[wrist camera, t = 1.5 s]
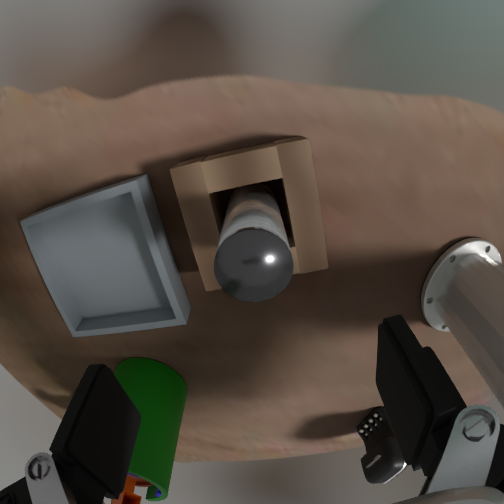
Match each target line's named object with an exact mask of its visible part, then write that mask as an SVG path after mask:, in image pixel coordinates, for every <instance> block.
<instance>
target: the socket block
mask: <svg viewBox="0 0 504 504" xmlns="http://www.w3.org/2000/svg"><path fill="white" fill-rule="evenodd" d="M169 170H170V173H171V177H172V181H173V184H174V188H175V191H176V195H177V198H178V202H179V205H180V209H181V212H182V216H183V219H184V223H185V226H186V229H187V233H188V236H189V239H190V242H191V246H192V249H193V252H194V255H195V259H196V262H197V265H198V268H199V271H200V274H201V277H202V281H203V284H204V287H205V290H206V292H207V291H213V290H219V289H222V288H221V286H220V285H219V284H218V282H217V280H216V277H215V274H214V259H215V255H216V251H217V247H218V243H219V239H220V235H221V231H222V228H223V224H224V219H223V215H222V211H221V207H220V203H219V199H218V196H217V191H222V190H226V189H231V188H235V187H240V186H245V185H249V184H254V183H259V182H264V181H269V180H274V179H279V178H280V179H281V184H282V189H283V195H284V200H285V205H286V210H287V216H288V221H289V226H290V230H287V231H285V232H286V236H287V240H288V243H289V247H290V251H291V254H292V258H293V264H294V268H293V274H298V273H300V274H303V273H308V272H313V271H318V270H323V269H328V260H327V252H326V244H325V237H324V229H323V222H322V215H321V209H320V202H319V196H318V189H317V183H316V177H315V171H314V165H313V160H312V154H311V148H310V143H309V139H308V138H305V137H303V136H296V137H291V138H285V139H280V140H274V141H273V142H270V143H265V144H260V145H255V146H250V147H246V148H241V149H236V150H232V151H228V152H223V153H219V154H215V155H211V156H207V155H206V156H202V157H198V158H194V159H190V160H186V161H182V162H180V163H178V164H177V165H175V166H174V167H172V168H171V169H169Z"/></svg>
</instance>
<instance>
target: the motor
mask: <svg viewBox="0 0 504 504" xmlns="http://www.w3.org/2000/svg"><path fill="white" fill-rule="evenodd" d="M114 375H115V377H116V378H117V380H118V381H119V383H120V385H121V386H122V388H123V389H124V391H125V392H126V393H127V395H128V396H129V398H130V399H131V401H132V402H133V404H134V405H135V406H136V408H137V409H138V411H139V412H140V414H141V424H140V427H139V431H138V435H137V438H136V442H135V446H134V450H133V454H132V458H131V462H130V466H129V470H128V474H127V478H126V482H125V486H124V490H123V492H122V493H120V495H119V500H117V499H111V504H140V502H141V496H138V495H136V494H133V493H134V488H135V486H138V487H148V490H147V495H146V500H148V501H160V500H164V499H165V498H167V496H168V490H169V484H170V479H171V473H172V467H173V462H174V457H175V451H176V446H177V441H178V436H179V431H180V426H181V420H182V415H183V410H184V406H185V401H186V396H187V386H186V384H185V382H184V380H183V379H182V377H181V376H180V375H179V374H178V373H177V372H176V371H174V370H173V369H172V368H170V367H168V366H167V365H165V364H163V363H160V362H158V361H155V360H152V359H147V358H129V359H126V360H124V361H122V362H121V363H119V364H118V366H117V368H116V370H115V372H114Z"/></svg>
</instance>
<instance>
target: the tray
mask: <svg viewBox="0 0 504 504" xmlns="http://www.w3.org/2000/svg"><path fill="white" fill-rule="evenodd" d="M20 224H21V226H22V229H23V232H24V234H25V237H26V240H27V242H28V245H29V247H30V250H31V252H32V254H33V257H34V259H35V262H36V264H37V266H38V268H39V271H40V273H41V275H42V277H43V280H44V282H45V284H46V286H47V288H48V290H49V292H50V294H51V296H52V298H53V300H54V302H55V304H56V306H57V308H58V310H59V312H60V314H61V316H62V318H63V319H64V321H65V323H66V325H67V327H68V329H69V330H70V332H71V334H72V336H73V337H84V336H94V335H104V334H113V333H122V332H131V331H139V330H147V329H155V328H163V327H170V326H178V325H185V324H187V321H188V317H189V314H190V310H191V305H190V303H189V300H188V297H187V294H186V292H185V289H184V286H183V283H182V280H181V278H180V275H179V272H178V269H177V266H176V263H175V260H174V257H173V254H172V251H171V248H170V245H169V242H168V239H167V236H166V233H165V230H164V227H163V223H162V220H161V217H160V214H159V211H158V207H157V204H156V201H155V197H154V194H153V191H152V187H151V184H150V180H149V177H148V174H144V175H141V176H137V177H134V178H131V179H128V180H124V181H121V182H118V183H115V184H112V185H109V186H106V187H103V188H100V189H97V190H94V191H91V192H88V193H85V194H82V195H80V196H77V197H74V198H71V199H69V200H66V201H63V202H61V203H58V204H55V205H53V206H50V207H47V208H45V209H42V210H40V211H37V212H35V213H33V214H31V215H30V216H28V217H26V218H25V219H23V220H21V221H20Z"/></svg>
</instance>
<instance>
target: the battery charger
mask: <svg viewBox="0 0 504 504" xmlns="http://www.w3.org/2000/svg"><path fill="white" fill-rule="evenodd" d="M357 432H358V434H359V435H360V436H361V438H362V439H363V441H364V444H365V446H366V452H367V454H365V455H364V456H363V457H362V458H361V463H362V468H363V471H364V475H365V477H366V479H367V481H368V482H369V483H373V484H374V483H381V484H383V483H386V482H389V481H390V480H392V479H393V478H395V477H396V476H397V475H398V474H400V473H401V472H402V471H403V470H405V468H406V467H407V466H408V465H406V463H405V461H404V458H403V455H402V452H401V449H400V447H399V444H398V441H397V438H396V435H395V433H394V430H393V427H392V425H391V422H390V419H389V417H388V414H387V411H386V409H385V408H384V407H381V408H376V409H374V410H373V411H372V412H371V413H370V414H369V415H368V416H367V417H366V418H365V419H364V420H363V421H362V423H361V424H360V425H359V426H358V428H357Z"/></svg>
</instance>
